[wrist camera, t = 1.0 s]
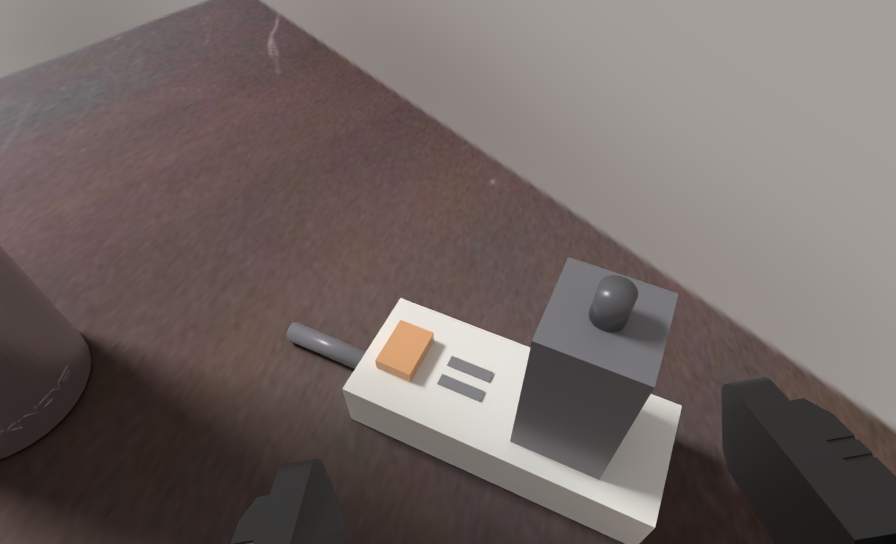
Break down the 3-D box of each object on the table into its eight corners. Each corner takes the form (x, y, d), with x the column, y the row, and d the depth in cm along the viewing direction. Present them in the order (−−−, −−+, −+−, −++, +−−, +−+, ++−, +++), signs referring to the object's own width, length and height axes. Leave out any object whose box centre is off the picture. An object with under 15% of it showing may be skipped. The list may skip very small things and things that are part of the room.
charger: (506, 456, 29) (537, 315, 19) (535, 386, 31) (575, 229, 22) (590, 493, 28) (668, 363, 18) (613, 417, 30) (692, 267, 21)
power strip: (263, 378, 33) (242, 338, 30) (322, 298, 37) (310, 255, 34) (634, 548, 28) (660, 522, 24) (661, 434, 31) (687, 398, 28)
